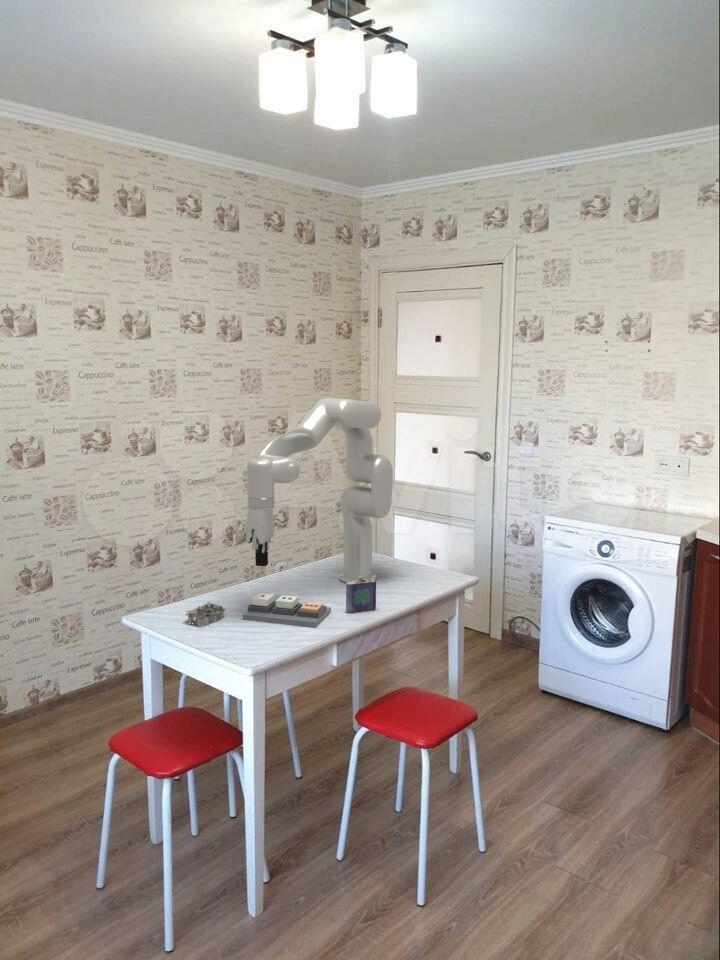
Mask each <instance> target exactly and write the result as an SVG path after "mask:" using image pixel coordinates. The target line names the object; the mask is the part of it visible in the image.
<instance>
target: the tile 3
mask: <svg viewBox="0 0 720 960" xmlns="http://www.w3.org/2000/svg"><path fill="white" fill-rule="evenodd" d="M302 605H303V606H302V607H301V608H300V611H306V612H316V613H318V612H319V611H320V610H321V609H322V608H323V606H324V604H323V603H318V602H317V603H316V602H305V603H303V604H302Z"/></svg>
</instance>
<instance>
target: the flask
mask: <svg viewBox="0 0 720 960" xmlns="http://www.w3.org/2000/svg"><path fill="white" fill-rule="evenodd" d="M376 609H377V581H376V580H373V579H372V580H371V579H369V580H368V579H363V578H362V575H359V579H358V581H353V582H348V583H345V612H346V614H355V613H364V612H371V611H372V612H374V611H376Z"/></svg>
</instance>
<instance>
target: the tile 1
mask: <svg viewBox="0 0 720 960" xmlns="http://www.w3.org/2000/svg"><path fill="white" fill-rule="evenodd" d="M250 601H251V603H252V605H259V606H269V605H270V604H271V603H273V602H274V601H276V600H275V594H273V593H263V592H258V593H256V594H255V595H254V596H252V597H251V600H250Z"/></svg>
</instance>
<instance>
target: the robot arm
mask: <svg viewBox="0 0 720 960" xmlns="http://www.w3.org/2000/svg"><path fill="white" fill-rule="evenodd" d="M381 419H382V411H381V408H380V406H379V405H378V404H377V403H376V402H374V401H368V400H366V401H365V400H356V399H351V398H350V399H349V398H340V397H339V398H336V397H324V398H321V399H318V401H316V403H315V404H314V405H313V406H312V408H310V410H309V411H308V412H307V414H306V415H304V417H303V418H302V419H301V421H300V422H299V423H298V424H297V425H296V426H295V427H293V428H292V429H290V430H288V431H286V432H284V433H283V434H281V435H279V436H276V438H274V439H273V440H271V441H270V442H269V443H268V444H267V445H266V446H265V447H264V448H263V449H262V450H261V452H260V453H259V454H258V456H257V457H256V458H255V459H250V460H249V461H247V465H246V467H247V469H246V470H247V471H246V473H247V474H246V476H247V479H246V480H247V481H246V482H247V483H246V486H247V487H246V488H247V489H246V490H247V515H246V526H245V528H246V531H245V533H246V535H245V541H246V543H247V544H251V549H252V550H254V553H255V566H256V567H266V566H268V565H269V547H270V546H269V545H270V542H271V541H272V539H273V538H274V537H275V514H274V509H275V484H288V483H292V482H294V481H295V480H297V479H298V477H299V476H300V474H301V466H300V464H299V462H298V461H297V460H296V459H294V458H292V457H289V456H292V455H294V454H297V453H301V452H306V451H308V450H312V449H314V448H316V447H317V446H319V444H320V443H321V442H322V440H323V439H325V437H326V436H327V434H328V433H329V432H330V431H331V429H332V428H334V427H340V428H341V429H342V431H343V432H344V435H345V439H346V458H345V459H346V460H345V461H346V463H345V472H346V477H347V478H348V479H349V480H350V481H353V482H357V483H363V484H370V486H371V487H369V486H365V485H364V486H363V485H349V486H346V487H345V488H344V489H343V490H342V491H341V495H340V499H339V501H340V507H341V513H342V514H341V515H342V521H343V572H341V573H339V575H338V580H340V581H341V582H343V583H345V584H346V583H348V582H353V581H358V579H359V575H362V578H363V579H368V580H369V579H371V580H372V579H373V580H375V581H376V580H377V574H376V573H375V572H373V525H372V522H371V519H370V518H373V519H382V518H385V517H386V516H387V515H389V513H390V511H391V508H392V502H393V500H392V499H393V482H394V481H393V479H394V478H393V477H394V475H393V474H394V473H393V472H394V471H393V466H392V465H393V464H392V463H391V460H390V459H389V458H388V457H387V456H384V455H382V454H374V453H373V450H374V449H373V447H374V446H373V443H374V442H373V436H372V432H371V429H374V428H376V426H378V425H379V423H380V422H381Z"/></svg>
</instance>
